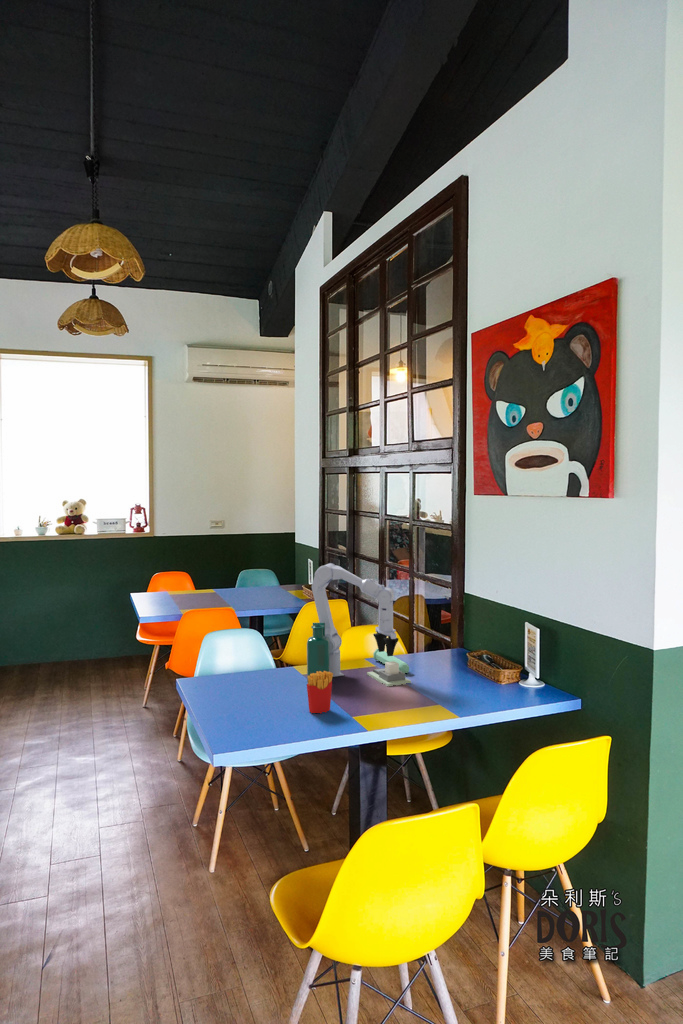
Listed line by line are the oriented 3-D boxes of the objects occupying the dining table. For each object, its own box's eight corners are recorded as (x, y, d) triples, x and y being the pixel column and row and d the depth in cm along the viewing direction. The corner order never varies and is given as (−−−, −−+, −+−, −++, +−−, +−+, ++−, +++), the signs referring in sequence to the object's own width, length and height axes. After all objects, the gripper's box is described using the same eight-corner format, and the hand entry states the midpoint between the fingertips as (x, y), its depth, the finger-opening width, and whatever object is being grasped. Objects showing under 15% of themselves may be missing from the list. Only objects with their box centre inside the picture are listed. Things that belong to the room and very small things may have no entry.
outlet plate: (387, 686, 257) (387, 677, 256) (367, 674, 273) (367, 666, 273) (411, 683, 260) (410, 674, 260) (389, 671, 277) (389, 663, 277)
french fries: (311, 715, 225) (311, 676, 224) (305, 711, 228) (304, 673, 228) (335, 710, 230) (335, 671, 229) (328, 706, 233) (328, 669, 233)
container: (409, 659, 273) (382, 645, 296) (396, 666, 271) (371, 652, 294) (414, 672, 274) (387, 657, 297) (401, 679, 272) (375, 664, 295)
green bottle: (329, 685, 259) (328, 627, 258) (307, 685, 259) (306, 627, 259) (330, 678, 269) (329, 622, 268) (308, 678, 269) (308, 622, 268)
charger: (389, 680, 261) (389, 664, 261) (384, 677, 265) (384, 662, 265) (399, 679, 263) (399, 663, 263) (394, 676, 267) (394, 661, 266)
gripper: (403, 621, 261) (403, 656, 262) (386, 615, 275) (386, 648, 275) (386, 623, 259) (386, 658, 259) (370, 616, 272) (370, 650, 273)
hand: (385, 653), depth 267 cm, fingers open, 7 cm apart
